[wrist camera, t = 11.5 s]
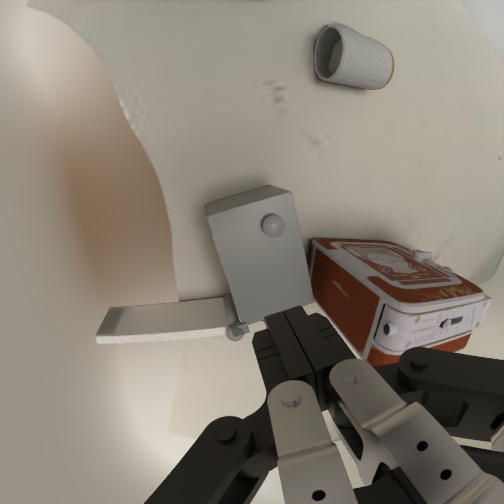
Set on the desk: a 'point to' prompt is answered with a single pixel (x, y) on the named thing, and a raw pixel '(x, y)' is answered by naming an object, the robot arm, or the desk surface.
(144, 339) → the side door
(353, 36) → the ceramic mug
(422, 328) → the cine camera
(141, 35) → the desk surface
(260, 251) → the block
